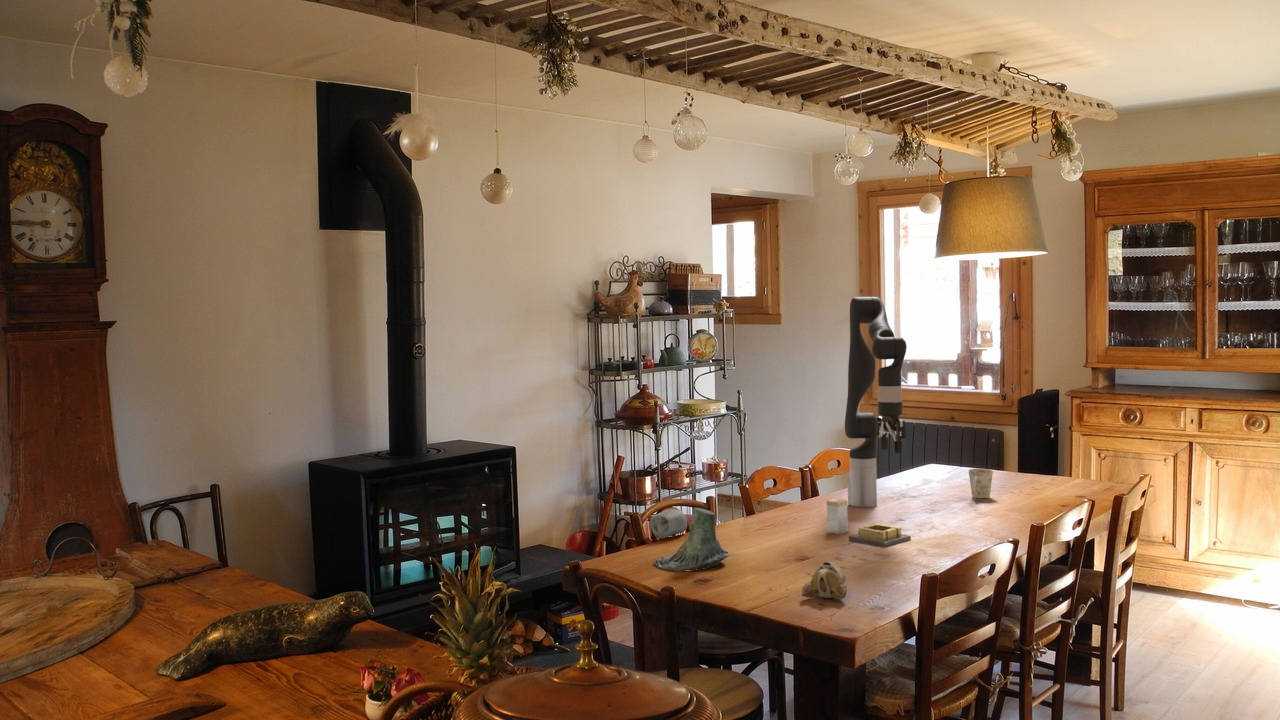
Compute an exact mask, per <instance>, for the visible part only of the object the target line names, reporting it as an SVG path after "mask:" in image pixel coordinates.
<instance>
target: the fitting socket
mask: <svg viewBox="0 0 1280 720" xmlns="http://www.w3.org/2000/svg"><path fill="white" fill-rule="evenodd" d="M857 529H858V532H857V533H856V534H852V535H849V536H848V541H851V542H856V543H862V544H867V545H871V546H877V547H880V548H881V547H883V548H887V547H890V546H893V545H897V544H900V543H904V542H908V541H911V535H908V534H902V527H899V526H894V525H893V526H892V525H889V524H888V525H887V524H883V523H882V524H881V523H877V522H875V523H872V524H869V525H864V526H862V527H861V526H859V527H858V528H857Z"/></svg>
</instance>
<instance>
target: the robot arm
mask: <svg viewBox="0 0 1280 720" xmlns="http://www.w3.org/2000/svg"><path fill="white" fill-rule="evenodd" d="M886 312H887V311H886V309H885V305H884V303H883V300H882V299H881V298H880V297H878V296H855V297H852V298H851V300H850V304H849V353H848V355H849V356H848V364H847V366H848V369H847V370H848V371H847V372H848V373H847V398H846V409H845V417H844V432H845V436H846V437H847V439H851V440H852V439H853V440H857V439H864V441H862V443H861V444H859V445H857V446H854V447H852V448H850V450H849V477H848V478H847V504H848V505H849V504H850V506H851V507H855V508H872V507H876V506H877V505H878V498H877V497H878V494H877V491H878V490H877V488H878V487H877V436H878V438H879V441H880V442H879V444H880V445H879V446H880V447H879V448H880V450H884V451H885V450H886V451H887V450H888V446H889V445H888V437H889V434H890V436H891V437H892V438H893V453H894V454H901V453H902V441H903V440H906V421H905V420H904V419H900V418H899V417H900V416H902V415H903V391H902V368H903V364H904V360H905V357H906V353H907V347H908V346H907V342H906V340H905V339H904V338H903V337H900V336H895V334H894V332H893V330H892V328H891V326H890V324H889V321H888V317H887V313H886ZM861 324H865V325H867V324H869V327H868V333H869V334H868V335H869V337H870V339H871V341H872V345H871V349H870V347H869V346H868V344H867V343H866V341H865V339H864V336H863V334H862V330H861ZM876 359H877V360H893V361H892V363H891V364H890V365H887V366H882V367H880V368H879V369H878V372H877V379H878V380H877V384H878V388H877V415H879V416H876V414H875V413H873V412H864V411H863V412H858V409H859V405H860V402H861V401H862V400H863V397H864V396H865V395H866V393H867V392H868V391H869V389H870V387H871V386H872V384H873V383H874V381H875V377H876Z"/></svg>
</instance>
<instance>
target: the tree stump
mask: <svg viewBox="0 0 1280 720" xmlns="http://www.w3.org/2000/svg"><path fill="white" fill-rule="evenodd" d="M691 521H692V522H691V523H690V530H689V534H688V537H687V538H686V539H685V540H684V541H683V543H682V544H681V546H680V547H679V548H678V549H677V551H676V552H675V553H674V554H671V555H667V556H666V555H665V556H662V557H661V558H659V559H654V565H655V567H656V566H657V567H656V568H658V569H660V568H661V569H660V570H664V569H665V570H664V571H670V570H674V571H673V572H678V571H682V572H685V571H684V570H694V571H697V570H696V569H701V570H704V569H703V568H706V569H709V568H708V567H710V568H713V567H712V566H714V567H717V566H718V565H719V564H720V563H721V562H722V561H724V560H725V559H726V558H728V557H729V555H730V553H729V552H728V551H727V550H724V549H723V548H722V546H721V543H720V541H719V540H718V539H717V535H716V533H717V531H716V515H715V513H714V512H712V511H710V510H707V509H705V508H701V507H700V508H699V507H694V508H693V517H692V520H691ZM664 564H666V565H664ZM716 565H717V566H716ZM675 570H676V571H675Z"/></svg>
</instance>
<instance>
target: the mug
mask: <svg viewBox="0 0 1280 720" xmlns="http://www.w3.org/2000/svg"><path fill="white" fill-rule="evenodd" d="M993 471H994V470H993V469H989V468H988V469H987V468H969V469H968V475H969V476H968V477H969V484H970V490H971V496H972V498H973V497H974V498H973V499H976V498H988V499H990V498H989V497H991V490H992V481H993V475H994V472H993Z"/></svg>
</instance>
